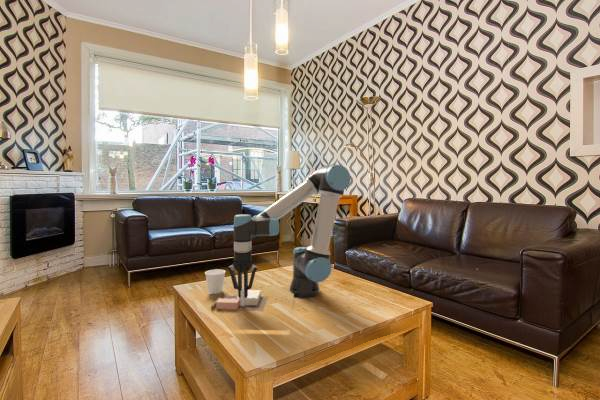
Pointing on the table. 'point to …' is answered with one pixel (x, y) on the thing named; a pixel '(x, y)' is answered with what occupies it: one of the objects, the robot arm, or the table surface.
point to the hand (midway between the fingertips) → (243, 304)
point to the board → (257, 307)
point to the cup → (215, 280)
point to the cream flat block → (252, 297)
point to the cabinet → (228, 303)
